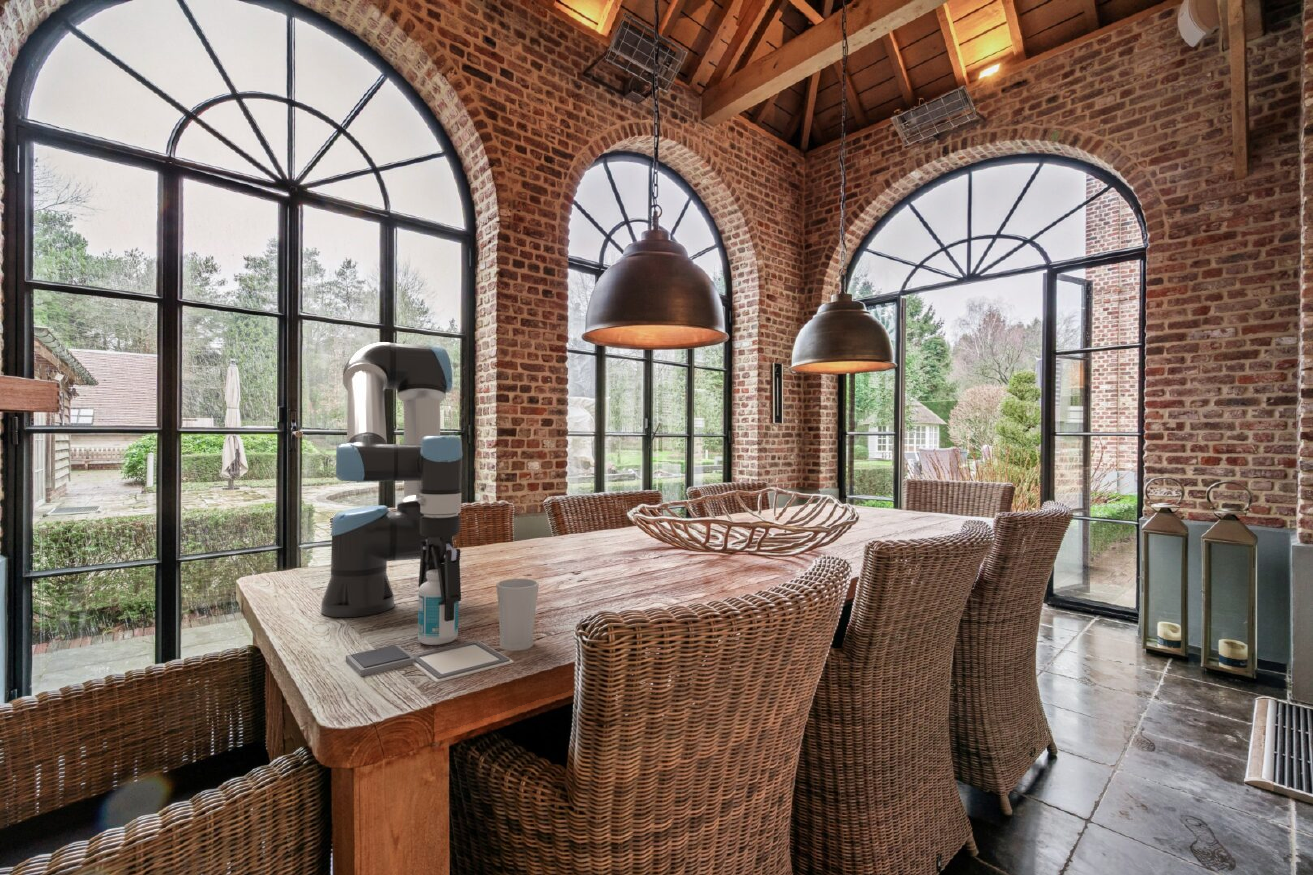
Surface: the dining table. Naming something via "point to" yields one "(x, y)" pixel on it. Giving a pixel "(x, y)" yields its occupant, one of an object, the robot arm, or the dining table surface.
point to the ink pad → (379, 660)
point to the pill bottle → (432, 611)
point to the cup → (517, 613)
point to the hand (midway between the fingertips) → (438, 631)
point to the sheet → (459, 661)
